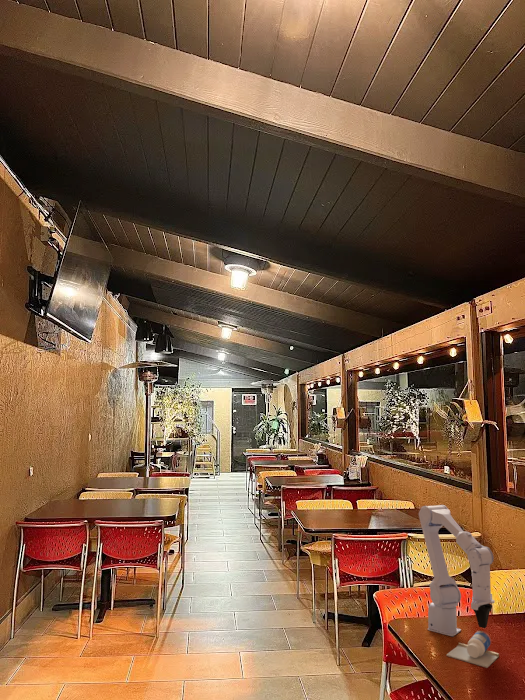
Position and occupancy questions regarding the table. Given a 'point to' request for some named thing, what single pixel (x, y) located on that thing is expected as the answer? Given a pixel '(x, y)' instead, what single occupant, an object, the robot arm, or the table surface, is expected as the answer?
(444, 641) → the table surface
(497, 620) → the table surface
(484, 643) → the pill bottle
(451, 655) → the mat
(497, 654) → the stop strip
